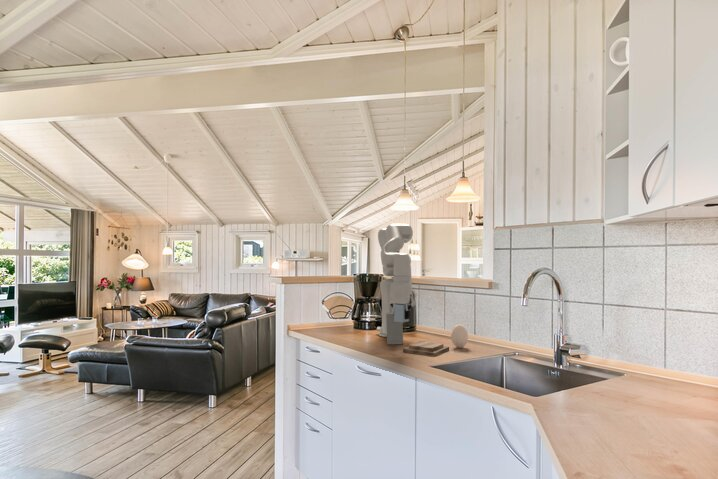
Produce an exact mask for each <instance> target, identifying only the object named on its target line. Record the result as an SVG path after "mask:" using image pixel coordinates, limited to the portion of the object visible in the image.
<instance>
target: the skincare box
mask: <svg viewBox="0 0 718 479" xmlns="http://www.w3.org/2000/svg"><path fill="white" fill-rule="evenodd" d="M386 322H387V337H386V345H403V344H404V330H403V329H404V328H403V326H404V325H403V324H404V322H395V321H394V312H387V313H386Z"/></svg>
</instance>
